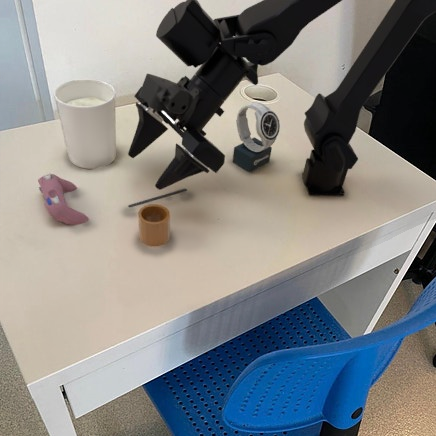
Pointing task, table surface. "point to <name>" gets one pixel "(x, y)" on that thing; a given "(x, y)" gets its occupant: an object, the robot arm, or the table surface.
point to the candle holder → (88, 121)
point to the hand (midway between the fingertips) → (143, 171)
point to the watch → (253, 148)
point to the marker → (157, 198)
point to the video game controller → (59, 199)
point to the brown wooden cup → (154, 225)
